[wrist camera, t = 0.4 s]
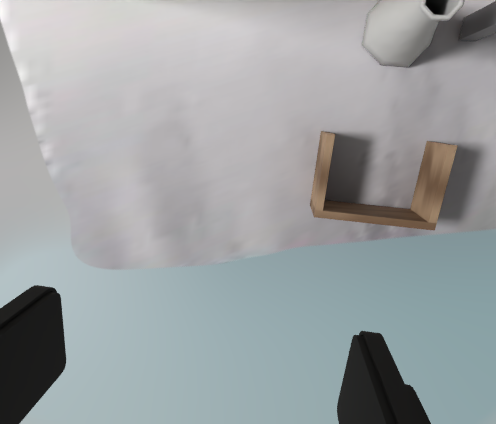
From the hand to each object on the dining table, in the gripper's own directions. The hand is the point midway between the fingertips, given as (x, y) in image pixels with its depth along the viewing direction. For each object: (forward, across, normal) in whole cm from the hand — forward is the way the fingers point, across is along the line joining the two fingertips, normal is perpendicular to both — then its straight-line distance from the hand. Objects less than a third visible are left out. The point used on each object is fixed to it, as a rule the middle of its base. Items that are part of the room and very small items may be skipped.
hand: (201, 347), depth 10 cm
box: (+30, -13, -1) cm, 33 cm away
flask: (+31, -13, -17) cm, 37 cm away
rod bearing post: (+31, -20, -17) cm, 40 cm away
